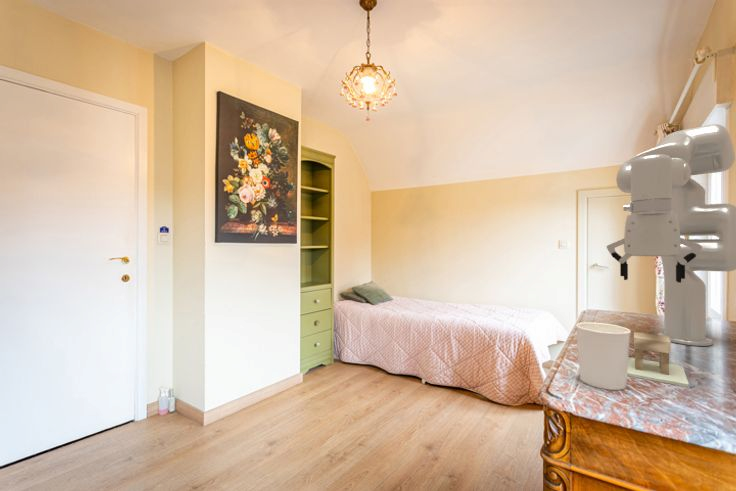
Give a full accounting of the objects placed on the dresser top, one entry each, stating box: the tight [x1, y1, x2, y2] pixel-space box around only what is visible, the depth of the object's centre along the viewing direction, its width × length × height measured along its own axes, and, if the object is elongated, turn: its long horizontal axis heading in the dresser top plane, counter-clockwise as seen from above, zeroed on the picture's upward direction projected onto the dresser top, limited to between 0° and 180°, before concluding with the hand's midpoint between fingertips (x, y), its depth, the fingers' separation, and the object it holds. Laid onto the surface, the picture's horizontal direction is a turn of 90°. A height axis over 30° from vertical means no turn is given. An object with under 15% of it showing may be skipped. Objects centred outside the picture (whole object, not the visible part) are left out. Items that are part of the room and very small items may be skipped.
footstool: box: [633, 331, 672, 375], centre depth 81 cm, size 6×6×8 cm
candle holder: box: [575, 321, 632, 391], centre depth 74 cm, size 10×10×12 cm
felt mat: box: [627, 357, 690, 388], centre depth 81 cm, size 14×12×1 cm
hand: (651, 280), depth 81 cm, fingers open, 9 cm apart
